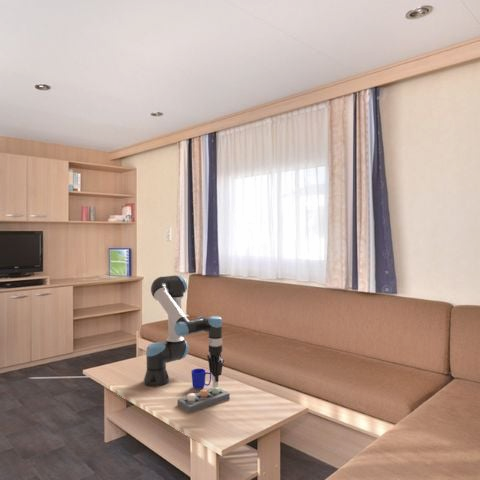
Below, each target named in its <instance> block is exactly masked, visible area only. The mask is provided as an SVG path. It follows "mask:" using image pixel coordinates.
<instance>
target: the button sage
mask: <svg viewBox="0 0 480 480" xmlns="http://www.w3.org/2000/svg"><path fill="white" fill-rule="evenodd" d="M211 389H212V394H213V395H218V394H220V389H221V388H220V386H218V387H216V388H214V387H213V386H212V388H211Z"/></svg>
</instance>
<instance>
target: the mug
mask: <svg viewBox="0 0 480 480" xmlns="http://www.w3.org/2000/svg"><path fill="white" fill-rule="evenodd" d="M190 373H191V382H192V384H191V385H192V387H193V389H196V390H202V389H204V388H205V386H210V384H211V381H212V373H210V371H206V369H205V368H194V369H191V372H190ZM206 375H209V381H208V383H206Z"/></svg>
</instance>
